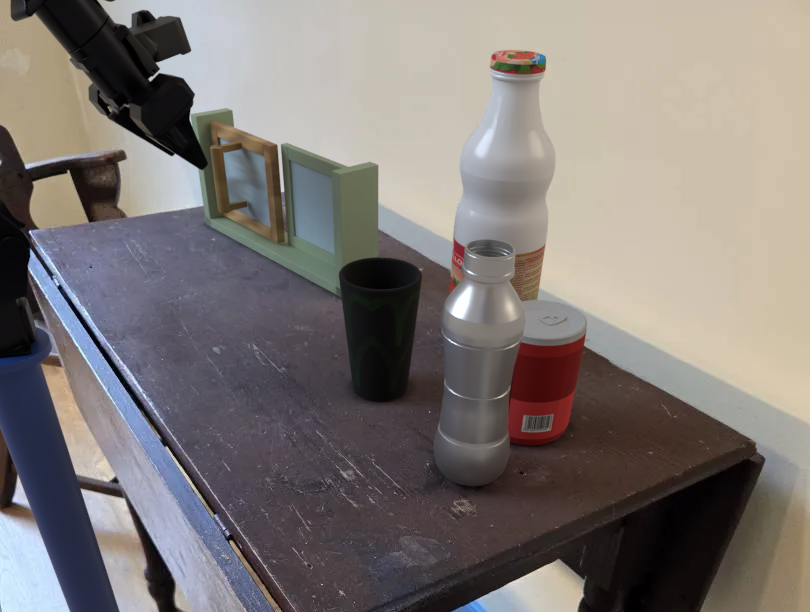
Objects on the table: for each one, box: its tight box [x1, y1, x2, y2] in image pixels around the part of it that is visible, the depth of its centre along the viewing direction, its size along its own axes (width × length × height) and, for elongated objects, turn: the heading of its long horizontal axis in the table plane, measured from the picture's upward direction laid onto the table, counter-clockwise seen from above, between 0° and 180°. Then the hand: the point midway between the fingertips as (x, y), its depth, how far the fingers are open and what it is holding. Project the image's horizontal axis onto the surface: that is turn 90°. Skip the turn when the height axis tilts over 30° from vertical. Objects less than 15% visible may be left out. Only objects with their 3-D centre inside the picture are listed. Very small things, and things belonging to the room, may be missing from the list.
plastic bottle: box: [432, 239, 526, 487], centre depth 62 cm, size 6×7×20 cm
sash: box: [210, 121, 285, 243], centre depth 103 cm, size 14×5×12 cm, turn 42°
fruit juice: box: [448, 49, 557, 301], centre depth 78 cm, size 9×9×28 cm
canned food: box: [508, 299, 588, 446], centre depth 71 cm, size 8×8×11 cm
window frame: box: [190, 107, 379, 299], centre depth 100 cm, size 32×6×14 cm, turn 42°
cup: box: [339, 256, 423, 403], centre depth 76 cm, size 8×8×12 cm
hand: (189, 160), depth 92 cm, fingers open, 9 cm apart
